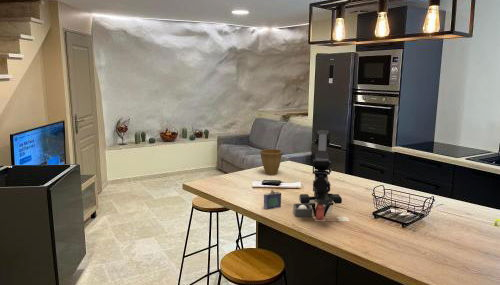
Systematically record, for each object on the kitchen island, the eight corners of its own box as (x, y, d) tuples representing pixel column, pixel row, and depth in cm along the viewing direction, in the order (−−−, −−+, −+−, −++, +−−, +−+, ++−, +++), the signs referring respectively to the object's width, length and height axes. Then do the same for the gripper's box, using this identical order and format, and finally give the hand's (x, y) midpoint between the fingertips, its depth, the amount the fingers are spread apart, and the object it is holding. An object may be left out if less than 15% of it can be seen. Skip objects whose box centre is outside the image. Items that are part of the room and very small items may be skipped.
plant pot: (271, 169, 266) (271, 148, 263) (286, 174, 254) (286, 151, 251) (255, 173, 256) (255, 150, 253) (270, 178, 245) (270, 154, 242)
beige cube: (320, 211, 184) (321, 203, 183) (328, 210, 184) (328, 202, 184) (323, 214, 180) (324, 206, 179) (331, 213, 180) (331, 205, 180)
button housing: (293, 211, 184) (293, 203, 183) (309, 211, 184) (309, 203, 183) (295, 217, 176) (295, 209, 175) (312, 217, 176) (312, 209, 175)
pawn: (314, 216, 175) (315, 201, 174) (323, 216, 175) (323, 201, 174) (315, 219, 171) (316, 204, 170) (324, 219, 171) (325, 204, 170)
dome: (295, 211, 182) (296, 203, 181) (307, 211, 182) (307, 203, 182) (297, 216, 177) (297, 207, 176) (309, 215, 177) (309, 207, 176)
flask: (264, 212, 186) (264, 191, 184) (262, 210, 188) (262, 189, 187) (281, 210, 189) (282, 189, 187) (279, 208, 191) (279, 188, 189)
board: (290, 213, 184) (291, 210, 184) (343, 213, 185) (343, 210, 184) (294, 224, 170) (294, 221, 170) (351, 224, 171) (351, 221, 171)
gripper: (303, 189, 162) (302, 223, 165) (345, 189, 162) (344, 223, 165) (299, 182, 173) (298, 213, 176) (339, 182, 173) (337, 213, 176)
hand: (319, 216), depth 173 cm, fingers closed on pawn, 4 cm apart
